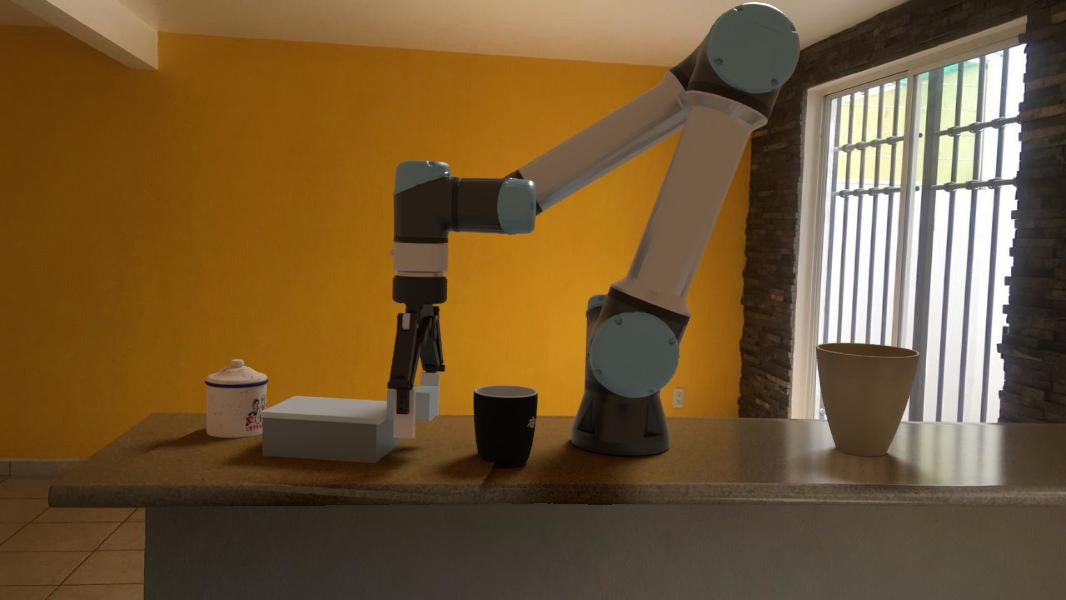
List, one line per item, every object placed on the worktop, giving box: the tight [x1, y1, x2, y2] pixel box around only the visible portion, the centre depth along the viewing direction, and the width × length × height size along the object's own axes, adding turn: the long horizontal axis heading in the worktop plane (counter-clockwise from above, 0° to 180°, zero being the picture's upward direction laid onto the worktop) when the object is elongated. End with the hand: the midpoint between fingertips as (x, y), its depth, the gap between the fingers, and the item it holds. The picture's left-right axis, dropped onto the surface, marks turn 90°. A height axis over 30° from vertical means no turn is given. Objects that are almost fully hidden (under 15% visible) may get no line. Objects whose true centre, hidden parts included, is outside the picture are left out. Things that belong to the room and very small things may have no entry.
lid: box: [261, 384, 438, 425], centre depth 122 cm, size 23×12×5 cm, turn 83°
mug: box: [472, 384, 539, 469], centre depth 122 cm, size 12×9×10 cm
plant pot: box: [815, 342, 921, 457], centre depth 133 cm, size 15×15×16 cm
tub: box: [261, 418, 402, 464], centre depth 123 cm, size 16×12×6 cm
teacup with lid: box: [204, 358, 269, 439], centre depth 133 cm, size 12×9×12 cm
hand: (417, 426), depth 121 cm, fingers open, 13 cm apart
